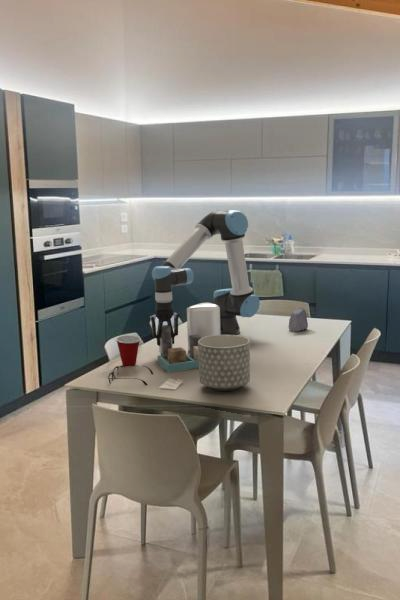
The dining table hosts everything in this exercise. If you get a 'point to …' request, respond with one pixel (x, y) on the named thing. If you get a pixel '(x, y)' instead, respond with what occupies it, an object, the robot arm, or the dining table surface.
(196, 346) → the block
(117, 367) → the eyeglasses
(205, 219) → the robot arm
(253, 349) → the dining table surface
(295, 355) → the dining table surface
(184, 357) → the block
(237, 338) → the planter
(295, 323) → the stone
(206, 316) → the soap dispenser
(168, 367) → the teal tray
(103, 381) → the dining table surface
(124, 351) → the plastic cup
